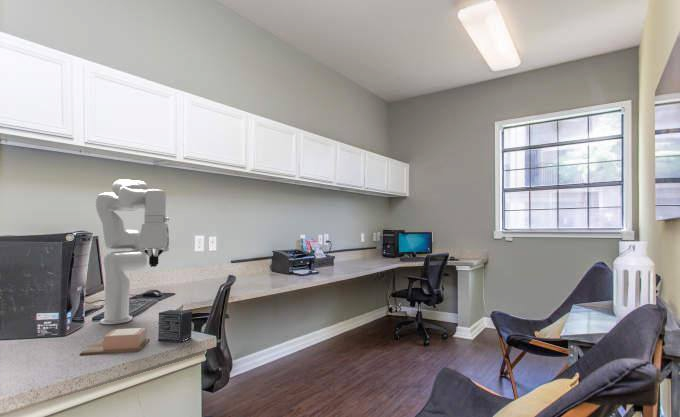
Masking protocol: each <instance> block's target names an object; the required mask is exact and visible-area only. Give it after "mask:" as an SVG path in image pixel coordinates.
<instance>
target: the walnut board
mask: <svg viewBox="0 0 680 417" xmlns="http://www.w3.org/2000/svg"><path fill="white" fill-rule="evenodd" d="M149 342H150V338H146V341H145V342H144V343H143V344H142V345H141V346H140V347H139V348H125V349H109V350H103V341H95V342H93V343H92V344H91V345H89V346H88V347H86V348H85V349H83V350H82V351H80V353H79V356H89V355H90V356H91V355H103V354H104V355H105V354H119V353H133V352H134V353H135V352H141V350H142V349H143V348H144V347H145V346H147V345H148V343H149Z"/></svg>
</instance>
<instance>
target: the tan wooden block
mask: <svg viewBox="0 0 680 417" xmlns="http://www.w3.org/2000/svg"><path fill="white" fill-rule="evenodd" d="M147 330H148V329H147V327H132V328H131V327H129V328H117V329H116V328H115V329H112V330H111V331H110V332H108V333H107V334H105V335H104V336H103V341H102V342H103V350H109V349H125V348H139V347H140V346H141V345H142V344H143V343H144V342H145V341H146V339H147Z"/></svg>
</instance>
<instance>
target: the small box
mask: <svg viewBox="0 0 680 417" xmlns="http://www.w3.org/2000/svg"><path fill="white" fill-rule="evenodd" d="M192 320H193V311H192V310H177V309H168V310H164V311H161V312H158V336H157V341H160V342H169V341H176V342H175V343H179V342H181V341H183V340H185V339H187V338H190V337H191V338H192V328H193V327H192ZM191 338H190V339H191ZM185 341H186V340H185ZM183 342H184V341H183ZM181 343H182V342H181Z"/></svg>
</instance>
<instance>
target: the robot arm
mask: <svg viewBox="0 0 680 417" xmlns="http://www.w3.org/2000/svg"><path fill="white" fill-rule="evenodd" d="M111 191H112V192H103V193H100V194H98V195H97V197H96V201H95V207H96V213H97V215H98V217H99V219H100V221H101V225H102V232H103V238H104V244H105V247H106V249H108V250H110V251H111V250H112V252H108V253H107V254H106V255H105V256H104V259H103V266H104V267H103V268H104V275H105V276H104V277H105V279H104V280H105V282H104V283H105V285H104V286H105V287H104V292H105V293H104V315H103V316H104V318H101V319H100V320H99V324H102V325H117V324H119V325H120V324H125V323H128V322H130V321H132V320H133V315H130V313H129V312H130V283H131V282H130V279H129V277H128V276H127V275H126V274H125V273H127V272H137V271H138V272H139V271H143V270H144V269H146V267H147V264H149V266H150V268H155V267H157V266H158V265H159V257H160V256H161V255H162V254H163V253H165V252H166V253H167V252H169V251H170V248H169V246H170V232H169V225H168V223H166V222H169V221H170V217H167V216H166V214H167V213H166V212H167V210H166V209H167V206H166V204H167V194H166V191H165V190H163V189H158V188H157V189H154V188H152V189H149V186H148V184H147V183H146V182H144V181H143V180H142V181H141V180H132V179H118V180H116V181H114V182H113V184H112V187H111ZM138 209H144V216H143V217H144V218H143V219H144V222H143V223H142V224H141V229H140V230H137V229H126V228H125V225H124V220H123V219H122V218H121V216H120V215H119V214H117V213H116V212H117V211H119V212H122V211H123V212H133V211H134V212H135V211H137V210H138ZM115 211H116V212H115ZM153 250H155V252H154V251H153ZM147 256H148V257H149V259H148V257H147ZM148 260H149V261H148Z"/></svg>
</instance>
